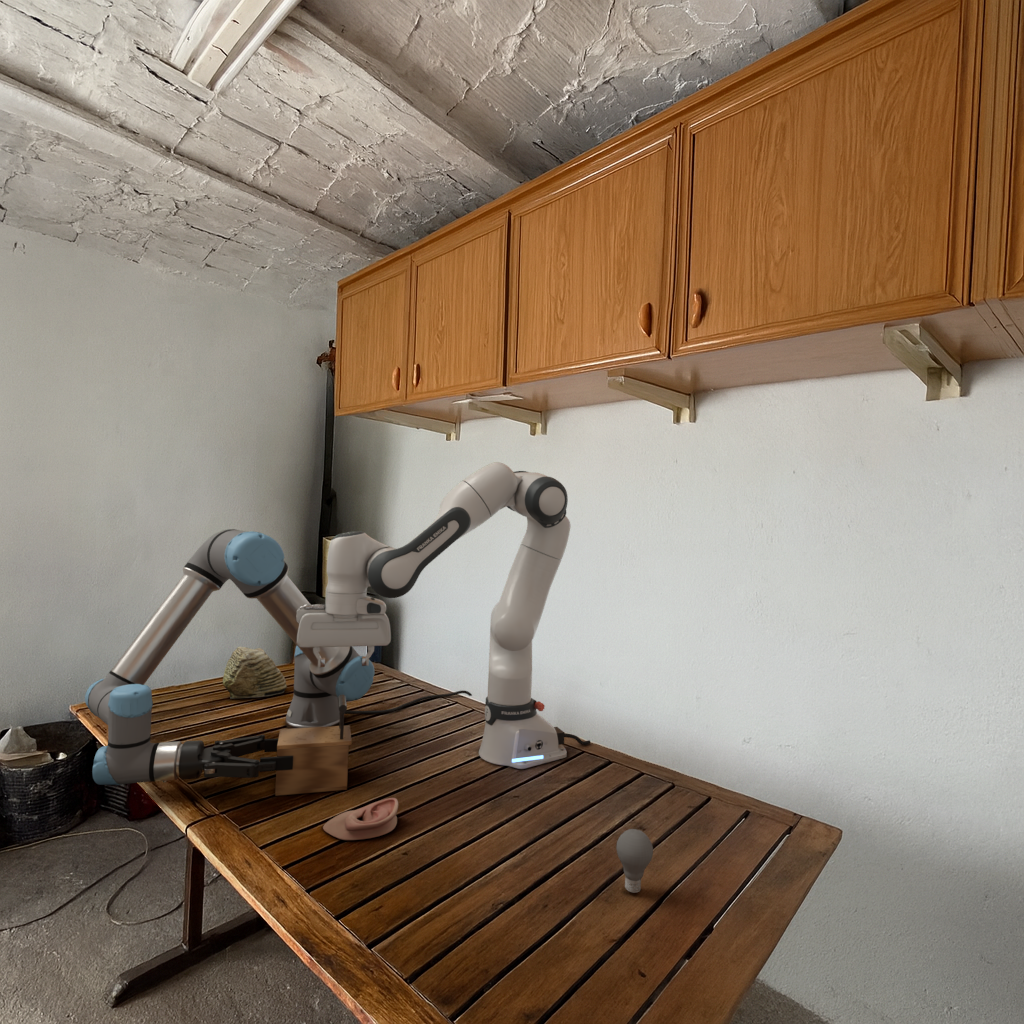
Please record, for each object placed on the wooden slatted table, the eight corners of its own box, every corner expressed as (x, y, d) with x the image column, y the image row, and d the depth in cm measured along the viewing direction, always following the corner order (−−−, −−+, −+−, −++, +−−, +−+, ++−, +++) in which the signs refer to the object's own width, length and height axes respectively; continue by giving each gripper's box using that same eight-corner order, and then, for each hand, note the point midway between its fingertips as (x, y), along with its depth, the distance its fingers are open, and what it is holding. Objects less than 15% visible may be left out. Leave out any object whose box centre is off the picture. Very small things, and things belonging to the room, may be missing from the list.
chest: (345, 771, 147) (347, 729, 147) (346, 789, 137) (348, 745, 137) (278, 776, 143) (280, 733, 142) (275, 795, 133) (277, 749, 133)
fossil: (218, 695, 195) (220, 647, 195) (278, 685, 208) (279, 640, 207) (228, 703, 189) (230, 653, 188) (289, 692, 201) (290, 645, 201)
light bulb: (610, 879, 108) (613, 822, 108) (644, 879, 109) (647, 822, 109) (619, 902, 102) (622, 840, 102) (655, 901, 103) (658, 840, 103)
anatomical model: (315, 814, 118) (343, 787, 129) (314, 835, 118) (343, 807, 129) (382, 825, 115) (405, 796, 127) (381, 846, 116) (404, 816, 127)
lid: (349, 728, 147) (351, 692, 147) (351, 744, 137) (352, 706, 137) (280, 732, 142) (281, 695, 142) (277, 749, 133) (278, 709, 133)
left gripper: (191, 756, 143) (295, 749, 149) (167, 803, 122) (290, 792, 128) (192, 723, 143) (296, 718, 149) (169, 764, 122) (292, 756, 128)
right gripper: (296, 606, 135) (293, 671, 135) (393, 606, 141) (390, 668, 141) (297, 601, 141) (294, 663, 141) (390, 601, 147) (387, 660, 147)
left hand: (294, 752), depth 139 cm, fingers closed on chest, 10 cm apart
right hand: (343, 665), depth 141 cm, fingers open, 8 cm apart
